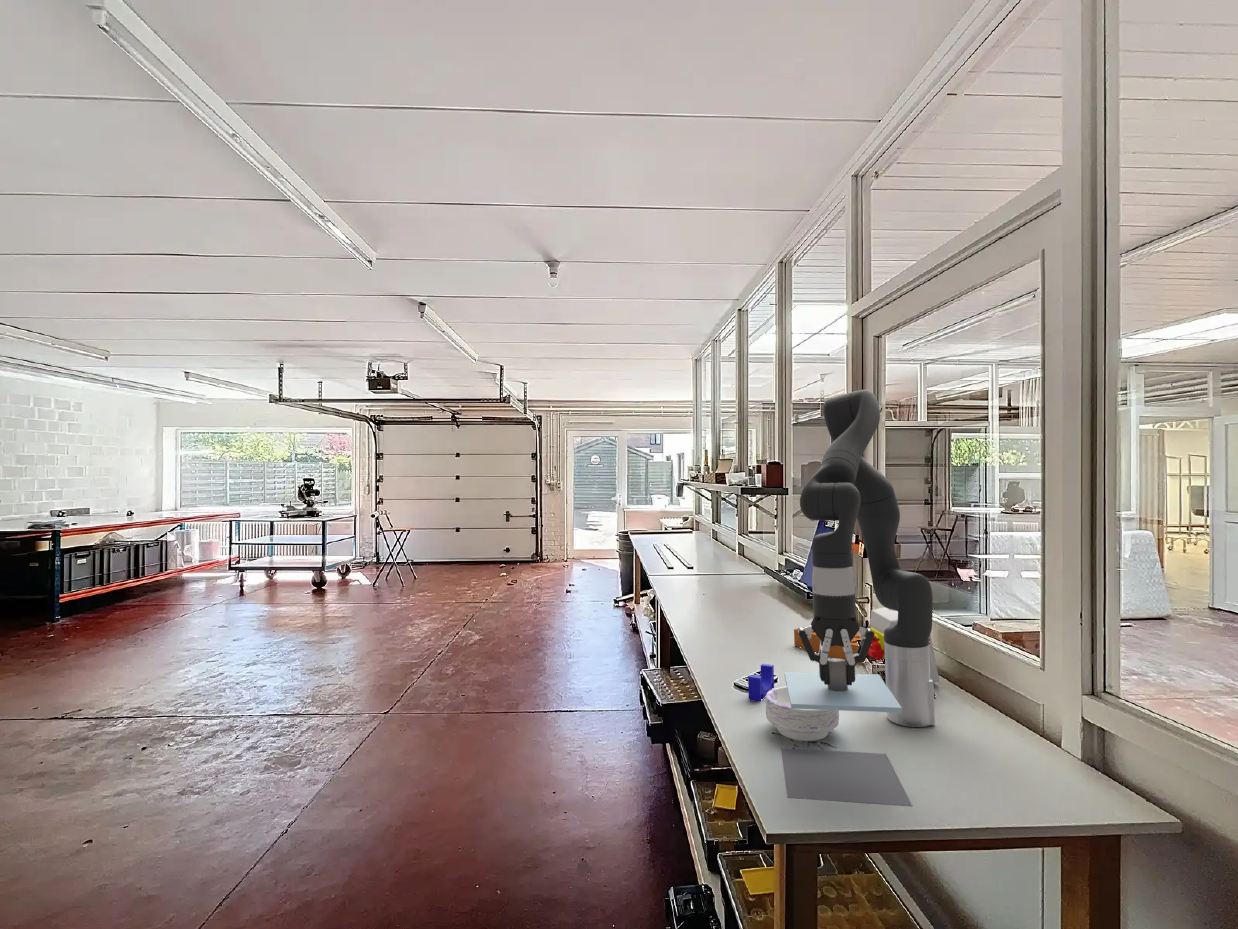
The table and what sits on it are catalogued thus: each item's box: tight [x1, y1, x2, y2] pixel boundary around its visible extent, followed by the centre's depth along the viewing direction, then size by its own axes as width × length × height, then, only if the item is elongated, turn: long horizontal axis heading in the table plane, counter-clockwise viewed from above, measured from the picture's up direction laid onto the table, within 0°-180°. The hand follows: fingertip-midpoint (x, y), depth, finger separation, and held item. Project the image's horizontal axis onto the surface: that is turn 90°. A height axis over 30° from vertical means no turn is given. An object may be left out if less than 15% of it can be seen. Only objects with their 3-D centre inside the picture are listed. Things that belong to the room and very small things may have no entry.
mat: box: [780, 747, 913, 807], centre depth 116 cm, size 20×20×1 cm
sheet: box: [784, 658, 902, 713], centre depth 117 cm, size 18×18×6 cm
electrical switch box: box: [868, 606, 940, 683], centre depth 171 cm, size 15×15×20 cm
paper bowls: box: [765, 686, 840, 742], centre depth 136 cm, size 15×15×8 cm
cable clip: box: [747, 663, 775, 703], centre depth 162 cm, size 12×4×6 cm, turn 150°
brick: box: [793, 626, 863, 665], centre depth 197 cm, size 25×12×6 cm, turn 29°
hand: (837, 683), depth 117 cm, fingers closed on sheet, 3 cm apart
